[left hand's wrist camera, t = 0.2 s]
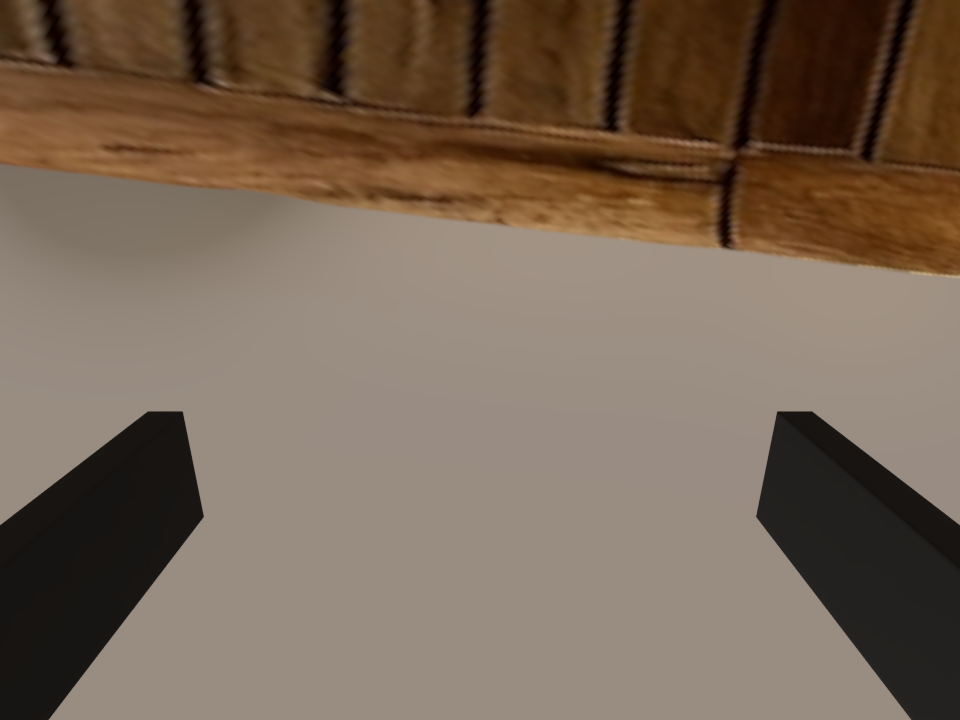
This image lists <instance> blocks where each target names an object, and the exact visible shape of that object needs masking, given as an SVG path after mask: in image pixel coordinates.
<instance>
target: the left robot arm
mask: <svg viewBox="0 0 960 720" xmlns="http://www.w3.org/2000/svg"><path fill="white" fill-rule="evenodd" d="M203 517H204V515H203V510H202V505H201V501H200V496H199V490H198V485H197V480H196V475H195V470H194V465H193V461H192V455H191V451H190V446H189V441H188V436H187V431H186V426H185V421H184V416H183V412H147V413H145V414H144V415H143V416H142V417H140V418H139V419H138V420H136V421H135V422H134V423H132V424H131V425H130V426H129V427H127V428H126V429H125V430H123V431H122V432H121V433H119V434H118V435H117V436H116V437H114V438H113V439H112V440H110V441H109V442H108V443H106V444H105V445H104V446H103V447H101V448H100V449H99V450H97V451H96V452H95V453H93V454H92V455H91V456H90V457H88V458H87V459H86V460H84V461H83V462H82V463H80V464H79V465H78V466H77V467H75V468H74V469H73V470H71V471H70V472H69V473H67V474H66V475H65V476H64V477H62V478H61V479H60V480H58V481H57V482H56V483H54V484H53V485H52V486H51V487H49V488H48V489H47V490H45V491H44V492H43V493H41V494H40V495H39V496H38V497H36V498H35V499H34V500H32V501H31V502H30V503H28V504H27V505H26V506H25V507H23V508H22V509H21V510H19V511H18V512H17V513H15V514H14V515H13V516H12V517H10V518H9V519H8V520H7V521H5V522H4V523H2V524H1V525H0V720H49V718H50V717H51V716H52V715H53V713H54V712H55V711H56V709H57V708H58V707H59V705H60V704H61V703H62V701H63V700H64V699H65V698H66V696H67V695H68V694H69V692H70V691H71V690H72V688H73V687H74V686H75V685H76V683H77V682H78V681H79V679H80V678H81V677H82V675H83V674H84V673H85V671H86V670H87V669H88V668H89V666H90V665H91V664H92V662H93V661H94V660H95V658H96V657H97V656H98V654H99V653H100V652H101V651H102V649H103V648H104V647H105V645H106V644H107V643H108V641H109V640H110V639H111V637H112V636H113V635H114V634H115V632H116V631H117V630H118V628H119V627H120V626H121V624H122V623H123V622H124V620H125V619H126V618H127V616H128V615H129V614H130V613H131V611H132V610H133V609H134V607H135V606H136V605H137V603H138V602H139V601H140V600H141V598H142V597H143V596H144V594H145V593H146V592H147V590H148V589H149V588H150V587H151V585H152V584H153V583H154V581H155V580H156V579H157V577H158V576H159V575H160V573H161V572H162V571H163V570H164V568H165V567H166V566H167V564H168V563H169V562H170V560H171V559H172V558H173V556H174V555H175V554H176V552H177V551H178V550H179V549H180V547H181V546H182V545H183V543H184V542H185V541H186V539H187V538H188V537H189V536H190V534H191V533H192V532H193V530H194V529H195V528H196V526H197V525H198V524H199V522H200V521H201V520H202V519H203ZM756 517H757V519H758V520H759V521H760V522H761V524H762V525H763V526H764V528H765V529H766V530H767V532H768V533H769V534H770V536H771V537H772V538H773V539H774V541H775V542H776V543H777V545H778V546H779V547H780V549H781V550H782V551H783V553H784V554H785V555H786V556H787V558H788V559H789V560H790V562H791V563H792V564H793V566H794V567H795V568H796V569H797V571H798V572H799V573H800V575H801V576H802V577H803V579H804V580H805V581H806V583H807V584H808V585H809V586H810V588H811V589H812V590H813V592H814V593H815V594H816V596H817V597H818V598H819V600H820V601H821V602H822V603H823V605H824V606H825V607H826V609H827V610H828V611H829V613H830V614H831V615H832V617H833V618H834V619H835V620H836V622H837V623H838V624H839V626H840V627H841V628H842V630H843V631H844V632H845V634H846V635H847V636H848V637H849V639H850V640H851V641H852V643H853V644H854V645H855V647H856V648H857V649H858V651H859V652H860V653H861V654H862V656H863V657H864V658H865V660H866V661H867V662H868V664H869V665H870V666H871V668H872V669H873V670H874V671H875V673H876V674H877V675H878V677H879V678H880V679H881V681H882V682H883V683H884V684H885V686H886V687H887V688H888V690H889V691H890V692H891V694H892V695H893V696H894V698H895V699H896V700H897V701H898V703H899V704H900V705H901V707H902V708H903V709H904V711H905V712H906V713H907V715H908V716H909V717H910V718H911V720H960V525H959V524H958V523H956V522H955V521H954V520H952V519H951V518H950V517H948V516H947V515H946V514H945V513H943V512H942V511H941V510H939V509H938V508H937V507H935V506H934V505H933V504H932V503H930V502H929V501H928V500H926V499H925V498H924V497H922V496H921V495H920V494H918V493H917V492H916V491H915V490H913V489H912V488H911V487H909V486H908V485H907V484H905V483H904V482H903V481H902V480H900V479H899V478H898V477H896V476H895V475H894V474H893V473H891V472H890V471H889V470H887V469H886V468H885V467H883V466H882V465H881V464H880V463H878V462H877V461H876V460H874V459H873V458H872V457H870V456H869V455H868V454H867V453H865V452H864V451H863V450H861V449H860V448H859V447H857V446H856V445H855V444H854V443H852V442H851V441H850V440H848V439H847V438H846V437H844V436H843V435H842V434H840V433H839V432H838V431H837V430H835V429H834V428H833V427H831V426H830V425H829V424H828V423H826V422H825V421H824V420H822V419H821V418H820V417H818V416H817V415H816V414H815V413H813V412H777V416H776V421H775V426H774V431H773V436H772V441H771V446H770V451H769V455H768V460H767V465H766V471H765V475H764V481H763V486H762V490H761V495H760V500H759V506H758V510H757V515H756Z"/></svg>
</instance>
